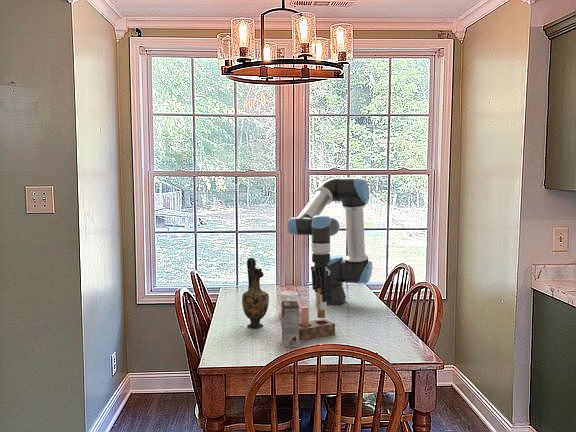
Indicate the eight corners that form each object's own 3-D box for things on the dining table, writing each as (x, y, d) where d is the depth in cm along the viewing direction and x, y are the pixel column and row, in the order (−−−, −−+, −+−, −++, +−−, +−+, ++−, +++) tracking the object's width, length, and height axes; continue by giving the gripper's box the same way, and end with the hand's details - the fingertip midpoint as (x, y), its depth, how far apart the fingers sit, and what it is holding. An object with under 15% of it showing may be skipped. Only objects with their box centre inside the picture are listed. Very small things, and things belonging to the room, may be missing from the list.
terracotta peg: (306, 334, 229) (306, 306, 228) (310, 336, 227) (310, 307, 226) (299, 335, 228) (299, 307, 227) (303, 337, 225) (303, 308, 224)
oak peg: (322, 315, 232) (322, 287, 231) (326, 317, 230) (326, 289, 229) (315, 316, 231) (315, 288, 230) (319, 318, 228) (319, 290, 227)
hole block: (323, 328, 237) (323, 318, 236) (335, 334, 229) (335, 323, 229) (291, 334, 229) (291, 323, 229) (301, 340, 221) (301, 329, 221)
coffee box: (281, 340, 222) (281, 301, 221) (297, 339, 223) (297, 300, 221) (283, 347, 213) (282, 306, 212) (299, 346, 214) (299, 306, 212)
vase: (248, 331, 234) (247, 262, 231) (237, 324, 245) (236, 258, 242) (273, 327, 239) (272, 259, 237) (261, 320, 250) (260, 255, 247)
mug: (296, 319, 252) (296, 297, 251) (278, 318, 253) (278, 296, 252) (298, 312, 264) (298, 291, 263) (281, 312, 265) (281, 291, 264)
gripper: (303, 251, 233) (304, 305, 235) (323, 256, 219) (323, 313, 221) (319, 249, 237) (319, 303, 239) (339, 254, 223) (339, 311, 225)
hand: (321, 308), depth 230 cm, fingers closed on oak peg, 3 cm apart
